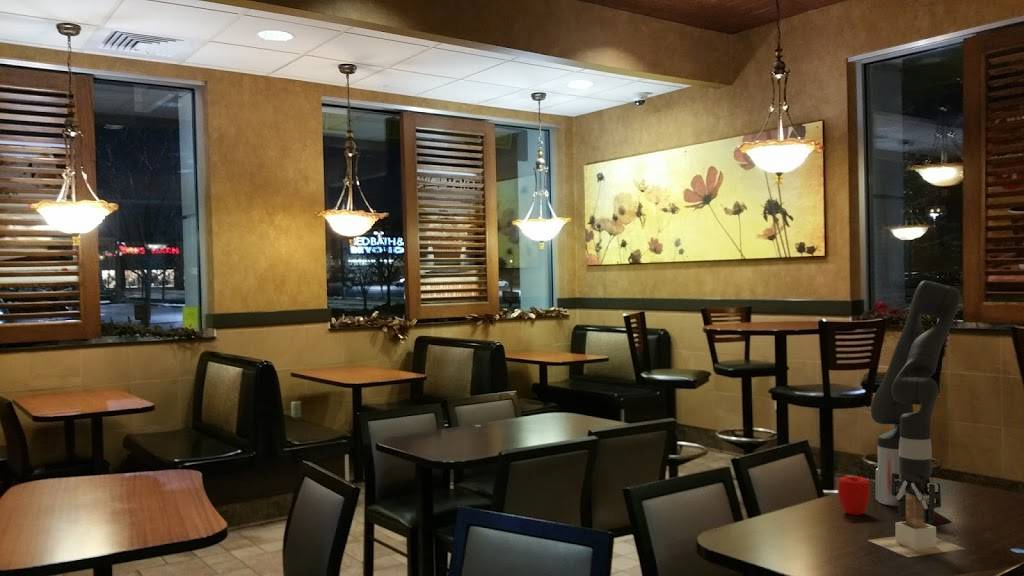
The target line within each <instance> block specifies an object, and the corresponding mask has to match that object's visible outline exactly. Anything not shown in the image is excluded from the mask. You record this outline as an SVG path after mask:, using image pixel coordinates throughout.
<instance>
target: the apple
mask: <svg viewBox="0 0 1024 576" xmlns="http://www.w3.org/2000/svg"><path fill="white" fill-rule="evenodd" d="M837 483H838V484H837V493H838V497H839V502H840V504H841V506H842V508H843V510H844V511H845V513H847V514H849V515H850V514H851V516H861V515H863V514H864V513H865V512H866V510H867V507H868V504H869V502H870V501H869V500H870V494H871V488H870V486H871V485H870V482H869V480H868V479H867V478H865V477H863V476H854V475H853V476H849V475H848V476H841V477H840V478H839V479H838V482H837Z"/></svg>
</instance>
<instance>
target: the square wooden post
mask: <svg viewBox="0 0 1024 576" xmlns="http://www.w3.org/2000/svg"><path fill="white" fill-rule="evenodd" d="M923 496H927V495H926V494H925V495H923ZM924 509H925V508H924V506H923V504H922V502H921V501H920V500H919V499H918V497H917V496H916V495H913V494H910V493H906V515H905V517H906V526H909V527H912V528H914V529H917V528H925V527H926V523H924Z"/></svg>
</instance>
